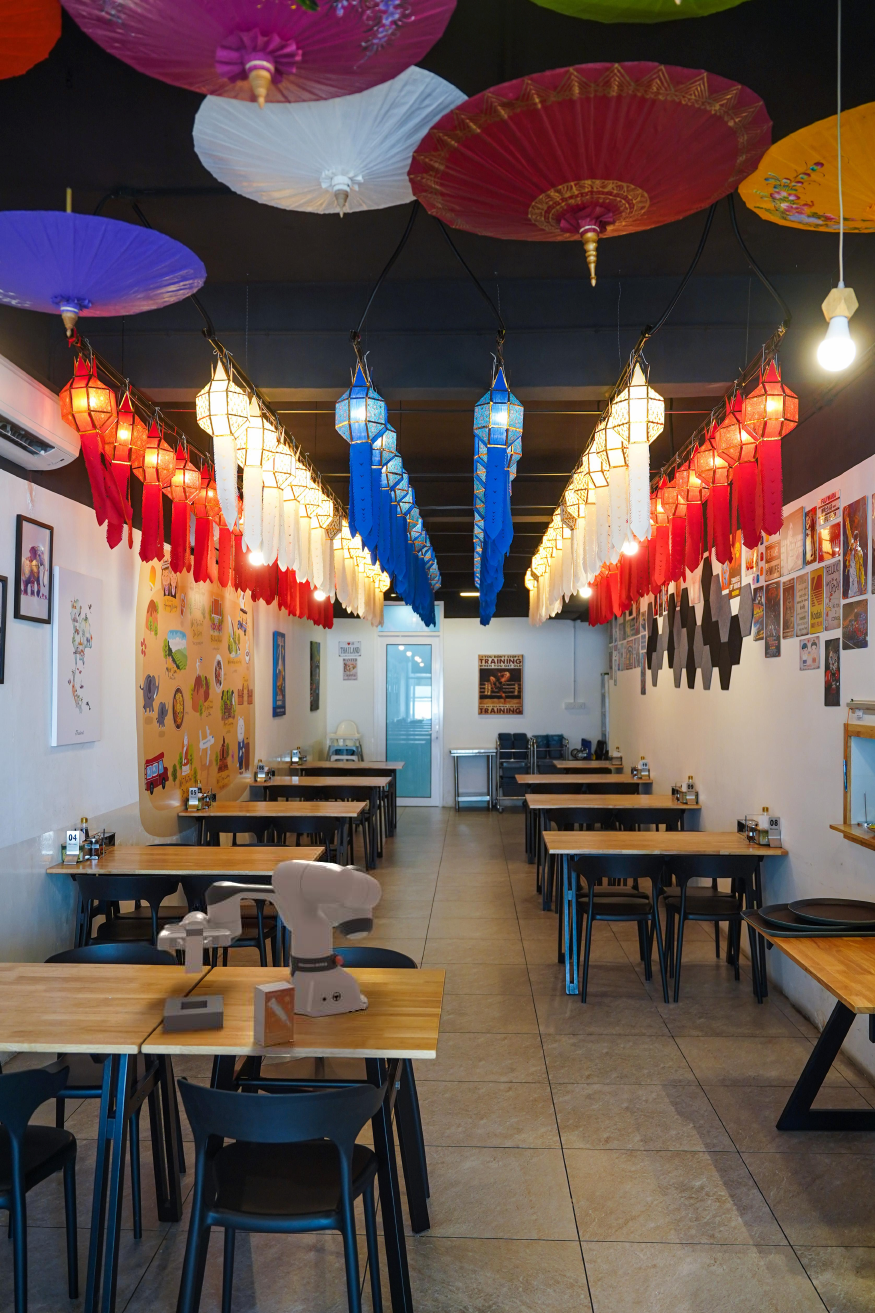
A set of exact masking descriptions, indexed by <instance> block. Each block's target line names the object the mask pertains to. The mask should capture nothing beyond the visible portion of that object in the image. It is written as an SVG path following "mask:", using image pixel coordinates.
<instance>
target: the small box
mask: <svg viewBox="0 0 875 1313" xmlns="http://www.w3.org/2000/svg"><path fill="white" fill-rule="evenodd" d="M253 993H254V995H253V996H254V997H253V1000H254V1001H253V1035H252V1037H253V1038H252V1039H253V1041H254V1042H256V1043H257V1044H259V1045H260V1046H262V1047H263V1048H265V1047H269V1046H274V1045H273V1044H275V1045H279V1043H280V1044H284V1042H285V1043H289V1042H288V1041H290V1040H293V1041H294V1038H295V1037H294V1032H295V1013H294V998H295V987H294V986H292V985H291V984H290V982H287V981H285V980H282V981H277V982H270V983H265V984H259V985H254V992H253ZM290 1042H291V1041H290Z"/></svg>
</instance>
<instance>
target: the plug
mask: <svg viewBox="0 0 875 1313" xmlns="http://www.w3.org/2000/svg"><path fill="white" fill-rule="evenodd" d="M203 953H204V948H203V925H189V926H186V950H185V953H184V954H185V955H184V956H185V957H184V958H185V959H184V961H185V964H184V974H186V975H187V974H200V973H201V974H202V973H203V960H204V959H203V956H204V954H203Z"/></svg>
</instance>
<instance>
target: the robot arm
mask: <svg viewBox="0 0 875 1313" xmlns="http://www.w3.org/2000/svg"><path fill="white" fill-rule="evenodd" d="M204 896H205V902H206V906H207V914H205V913H204V912H201V911H192V912H189V913H188V914H187V915H185V916H184V918H183V919H182V921H181V922H176V923H171V924H166V925H164V926H163V929H162V930H161V931H160V932H159V934H158V935H157V950H159V951H165V950H166V951H167V950H183V951H186V926H189V925H203V949H208V948H217V947H219V948H220V947H229V946H230V945H232V944H233V943H234V942H235V941H236V940H238V939H239V938H240V937H241V935H242V933H243V932H242V918H241V904H240V902H241V899H254V900H256V899H258V900H259V899H260V900H267V901H270V902H271V903H272V904H273V905H274V906H275V908H276V910H277V912H278V915H279V917H280V918H281V920H282V922H283V923H282V924H284V925H285V927H286V928H287V929H288V930H290V931H291V953H290V956H289V975H290V979H289V980H290V982H289V984H291V985H292V986H294V987H295V998H294V1014H300V1015H304V1016H309V1017H313V1018H317V1017H324V1016H331V1015H338V1014H343V1013H350V1012H349V1011H352V1012H356V1011H355V1010H359V1009H364V1008H366V1007H367V1006H368V1007H369V1002H368V1001H369V1000H368V998H367V997H366V996H365V994H363V993H361V991H360V985H359V983H358V980H357V978H356V977H354V976H353V975H352V974H351V973H349V972H348V971H347V970H345V969H344V968H343V967H342V966H341V965H343V964H344V959H343V957H342V956H340V954H339V953H337V952H336V951H333V934H334V933H333V930H335V931H336V932H337V931H338V933H339V934H340V935H341V936H342V937H344V938H346V939H351V940H353V939H354V940H358V939H363V937H364V938H365V937H366V936H368V935H370V933H371V932H373V929H374V919H373V908H374V907H376V906H377V905H378V903H380V901H381V897H382V886H381V885H380V883H379V881H378V880H377V879H376V878H374V877H372V876H371V875H369V874H367V873H366V871H365V869H364V868H362V867H361V866H360V865H347V866H342V865H340V864H336V863H333V862H331V863H330V862H321V861H311V860H302V859H301V860H300V859H292V860H286V861H282V862H280V863H278V864H277V866H276V867H275V868H274V869H273V873H272V875H271V884H253V883H239V882H232V881H227V880H225V881H217V882H213V883H212V884H211V885H210V886H209V887H208V889H207V890H206V892H205V895H204ZM333 927H334V929H333ZM368 1007H367V1008H368ZM367 1008H366V1009H367ZM359 1011H360V1010H359Z"/></svg>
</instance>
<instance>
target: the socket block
mask: <svg viewBox="0 0 875 1313" xmlns="http://www.w3.org/2000/svg"><path fill="white" fill-rule="evenodd" d="M223 999H224V997H223V994H213V995H211V994H210V995H201V996H199V995H198V996H187V997H186V996H185V997H183V996H182V997H172V998H171V997H170V998H166V999H165V1003H164V1004H165V1005H164V1011H163V1021H162V1022H163V1027H162V1032H163V1033H174V1032H186V1031H196V1030H198V1031H199V1030H210V1029H211V1030H212V1029H220V1028H222V1029H223V1028H224V1012H225V1011H224V1000H223Z"/></svg>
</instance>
